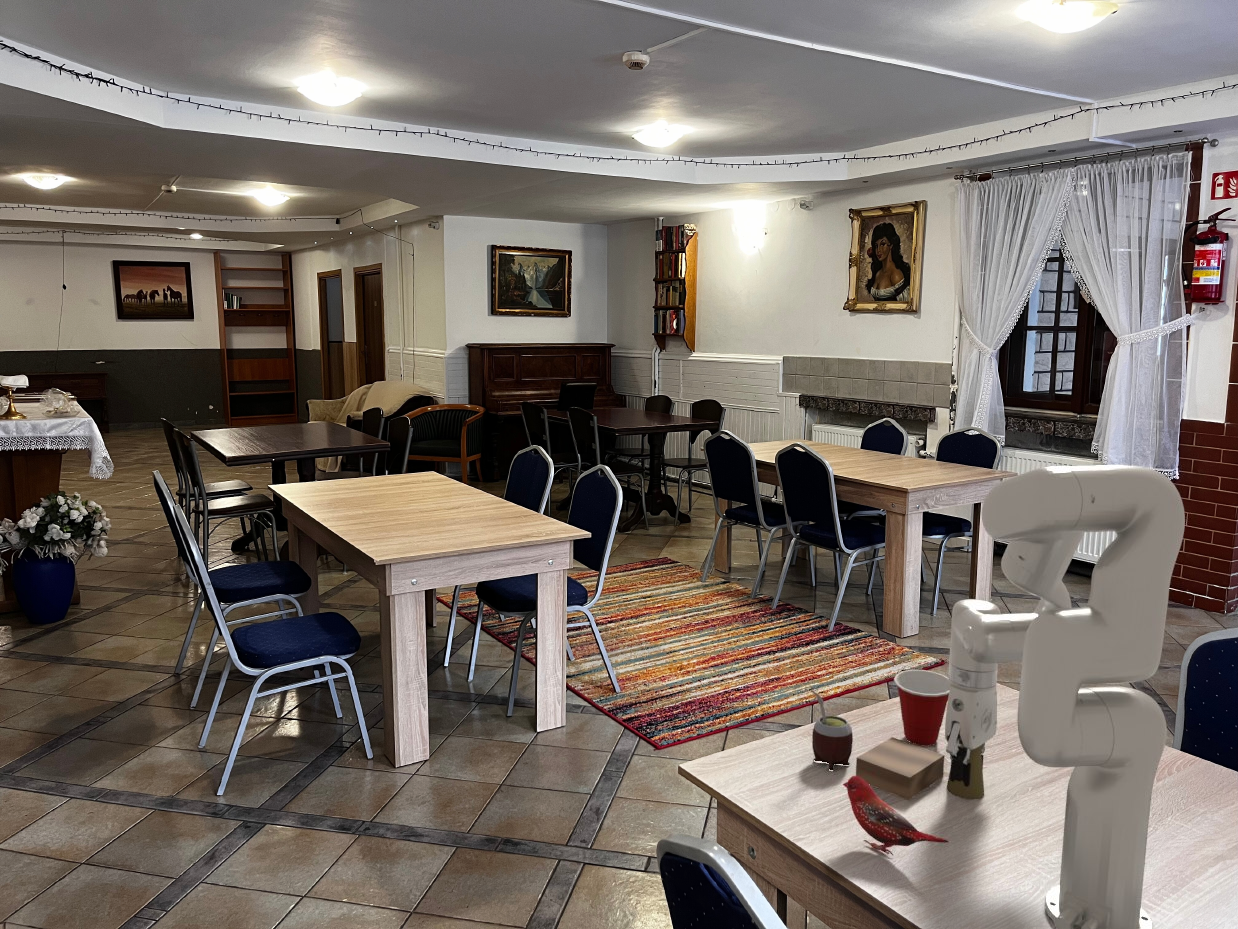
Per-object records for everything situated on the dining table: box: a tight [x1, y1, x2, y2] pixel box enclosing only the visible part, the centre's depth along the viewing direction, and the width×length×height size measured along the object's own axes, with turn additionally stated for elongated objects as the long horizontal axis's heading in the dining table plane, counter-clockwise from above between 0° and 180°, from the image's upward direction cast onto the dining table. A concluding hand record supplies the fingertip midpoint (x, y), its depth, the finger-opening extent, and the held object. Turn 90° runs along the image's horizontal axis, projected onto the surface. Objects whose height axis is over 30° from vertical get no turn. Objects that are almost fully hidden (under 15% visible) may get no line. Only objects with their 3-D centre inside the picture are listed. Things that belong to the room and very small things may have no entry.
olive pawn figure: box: [946, 740, 986, 800], centre depth 155 cm, size 6×6×11 cm
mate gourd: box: [810, 689, 854, 771], centre depth 164 cm, size 8×8×15 cm
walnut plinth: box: [855, 736, 945, 801], centre depth 160 cm, size 12×10×4 cm
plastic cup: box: [893, 669, 951, 747], centre depth 175 cm, size 11×11×12 cm
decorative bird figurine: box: [842, 775, 949, 856], centre depth 135 cm, size 3×18×10 cm, turn 41°
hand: (966, 777), depth 155 cm, fingers closed on olive pawn figure, 3 cm apart
